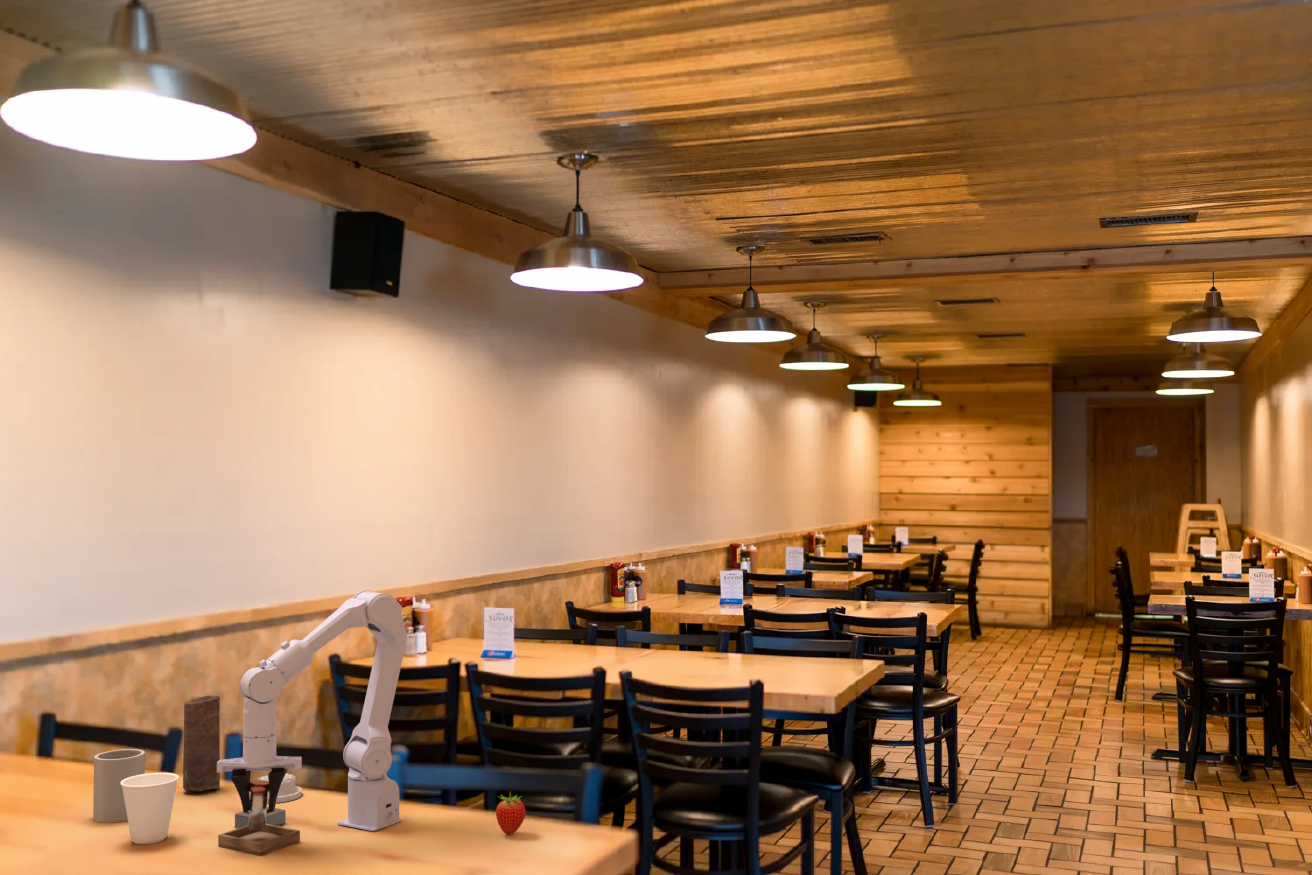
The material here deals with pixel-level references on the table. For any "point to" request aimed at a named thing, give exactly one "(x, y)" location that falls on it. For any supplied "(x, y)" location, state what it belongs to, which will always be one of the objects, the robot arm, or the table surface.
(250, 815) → the spice jar
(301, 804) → the table surface
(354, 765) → the robot arm
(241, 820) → the block
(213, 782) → the candle
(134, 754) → the cup
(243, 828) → the tray
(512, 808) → the fruit
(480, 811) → the table surface
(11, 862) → the table surface
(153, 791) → the cup
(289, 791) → the white rounded piece
